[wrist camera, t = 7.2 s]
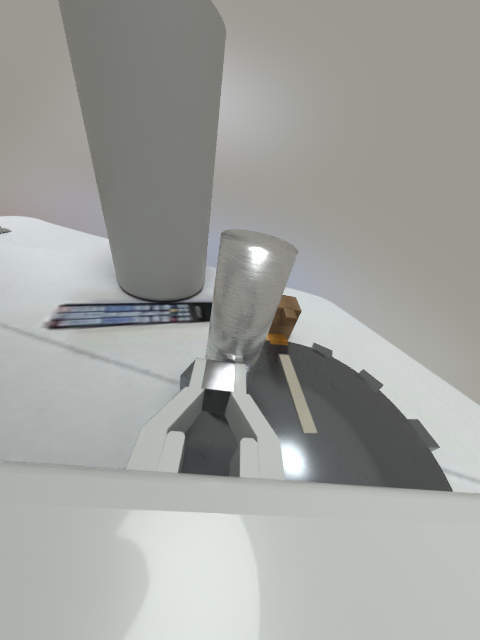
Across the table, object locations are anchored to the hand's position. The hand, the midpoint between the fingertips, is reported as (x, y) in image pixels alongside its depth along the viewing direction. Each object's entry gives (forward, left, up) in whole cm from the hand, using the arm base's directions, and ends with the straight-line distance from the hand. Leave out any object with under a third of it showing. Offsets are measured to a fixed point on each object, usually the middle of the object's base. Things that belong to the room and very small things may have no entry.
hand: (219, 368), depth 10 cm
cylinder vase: (-10, +22, -8) cm, 25 cm away
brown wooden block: (+7, +13, -8) cm, 17 cm away
